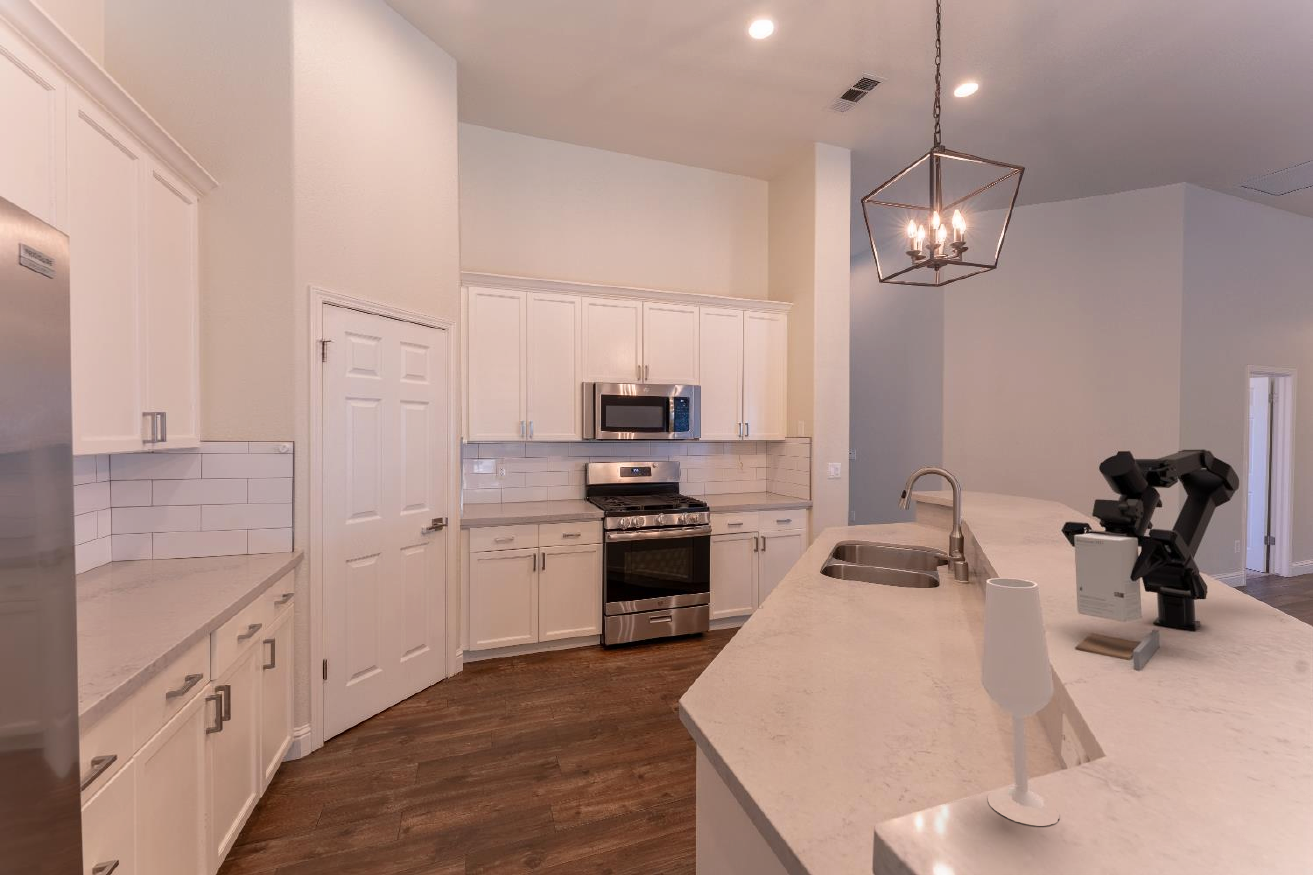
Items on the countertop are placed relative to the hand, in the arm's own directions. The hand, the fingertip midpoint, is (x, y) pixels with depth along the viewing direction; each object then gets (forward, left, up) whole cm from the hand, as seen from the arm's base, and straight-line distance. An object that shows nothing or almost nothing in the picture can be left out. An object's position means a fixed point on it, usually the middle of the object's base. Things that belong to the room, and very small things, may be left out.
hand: (1106, 575), depth 109 cm
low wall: (+2, +6, -13) cm, 15 cm away
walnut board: (0, 0, -13) cm, 13 cm away
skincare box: (0, 0, -8) cm, 8 cm away
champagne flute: (+64, +6, -13) cm, 65 cm away
